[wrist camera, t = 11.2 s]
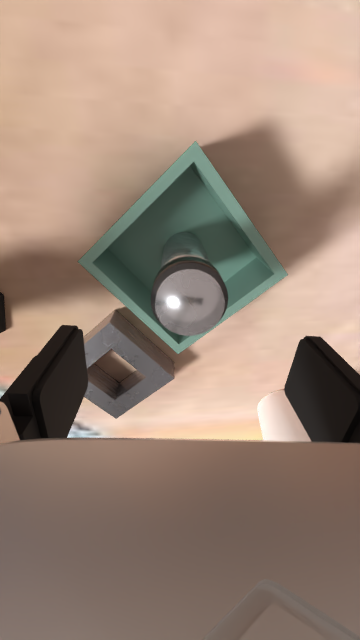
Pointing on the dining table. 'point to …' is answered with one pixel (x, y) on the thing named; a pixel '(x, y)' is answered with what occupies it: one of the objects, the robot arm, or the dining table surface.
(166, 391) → the dining table surface
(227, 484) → the robot arm
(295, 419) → the foam cup
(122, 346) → the socket block
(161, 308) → the metal peg
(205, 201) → the bin
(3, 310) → the mechanical leg
